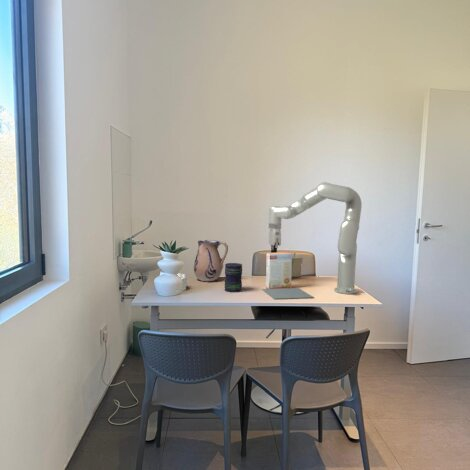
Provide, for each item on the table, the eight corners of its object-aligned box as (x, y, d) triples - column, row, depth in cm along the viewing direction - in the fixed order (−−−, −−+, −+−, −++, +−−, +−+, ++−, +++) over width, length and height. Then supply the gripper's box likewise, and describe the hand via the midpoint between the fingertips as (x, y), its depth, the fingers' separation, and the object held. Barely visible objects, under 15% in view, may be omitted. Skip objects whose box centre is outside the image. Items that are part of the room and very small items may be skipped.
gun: (283, 281, 261) (285, 258, 261) (278, 281, 263) (280, 257, 263) (301, 279, 281) (303, 257, 281) (297, 278, 283) (298, 257, 283)
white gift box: (185, 286, 241) (186, 272, 240) (186, 291, 228) (186, 276, 227) (167, 286, 240) (168, 272, 239) (167, 292, 227) (167, 276, 226)
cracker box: (287, 286, 248) (288, 252, 246) (291, 288, 242) (292, 253, 240) (265, 287, 244) (266, 252, 242) (268, 289, 239) (270, 253, 237)
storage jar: (228, 287, 241) (229, 257, 239) (244, 289, 237) (245, 258, 235) (221, 291, 231) (222, 259, 230) (238, 293, 228) (238, 261, 226)
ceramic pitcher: (194, 277, 269) (195, 239, 266) (227, 277, 270) (227, 239, 267) (192, 282, 251) (193, 242, 249) (227, 283, 252) (228, 242, 250)
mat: (313, 298, 221) (313, 297, 221) (274, 299, 216) (274, 298, 216) (298, 288, 242) (298, 287, 242) (262, 290, 237) (262, 288, 237)
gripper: (284, 227, 243) (283, 258, 245) (276, 225, 258) (275, 254, 260) (272, 227, 242) (271, 258, 243) (265, 225, 256) (264, 254, 258)
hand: (273, 256), depth 252 cm, fingers closed
